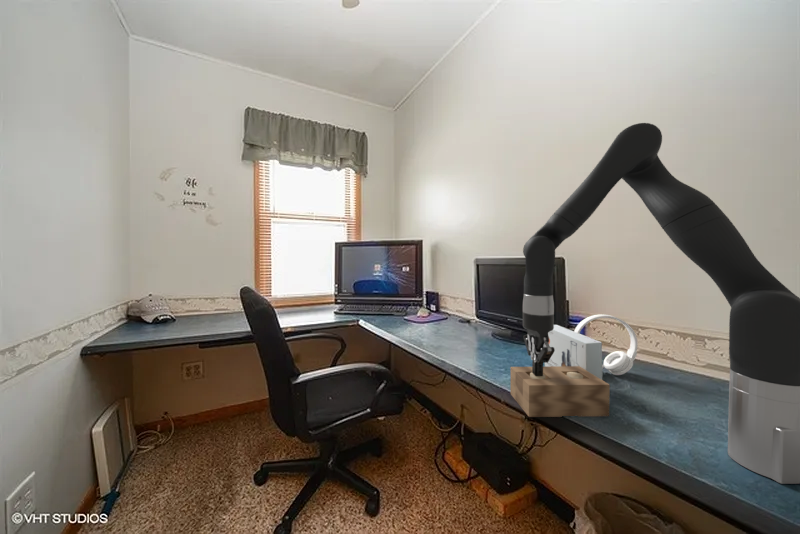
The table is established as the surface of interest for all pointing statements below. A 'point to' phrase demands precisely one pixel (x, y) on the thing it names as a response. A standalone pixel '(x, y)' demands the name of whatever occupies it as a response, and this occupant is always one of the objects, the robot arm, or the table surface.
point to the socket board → (560, 392)
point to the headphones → (618, 359)
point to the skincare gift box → (575, 350)
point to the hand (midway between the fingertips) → (537, 374)
